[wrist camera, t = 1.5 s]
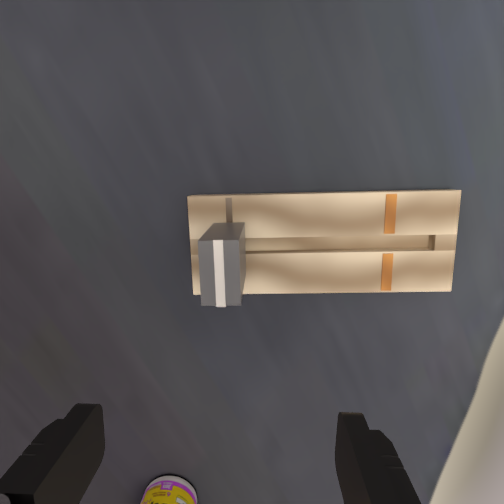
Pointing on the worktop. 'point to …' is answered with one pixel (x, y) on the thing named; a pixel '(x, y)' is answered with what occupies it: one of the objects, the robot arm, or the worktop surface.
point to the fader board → (337, 239)
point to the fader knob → (222, 264)
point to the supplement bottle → (169, 491)
